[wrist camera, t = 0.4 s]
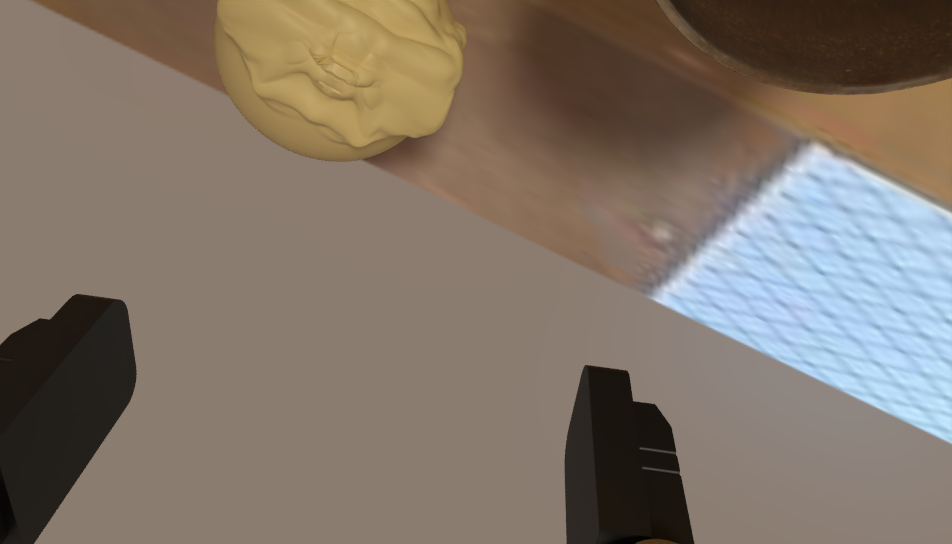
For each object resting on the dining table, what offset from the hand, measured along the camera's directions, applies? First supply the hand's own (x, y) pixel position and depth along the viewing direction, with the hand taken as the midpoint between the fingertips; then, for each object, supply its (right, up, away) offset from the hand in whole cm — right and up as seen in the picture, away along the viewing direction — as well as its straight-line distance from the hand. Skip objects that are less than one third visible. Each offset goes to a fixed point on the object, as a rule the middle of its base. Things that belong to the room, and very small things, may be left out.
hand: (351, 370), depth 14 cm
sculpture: (-4, +17, +28) cm, 33 cm away
